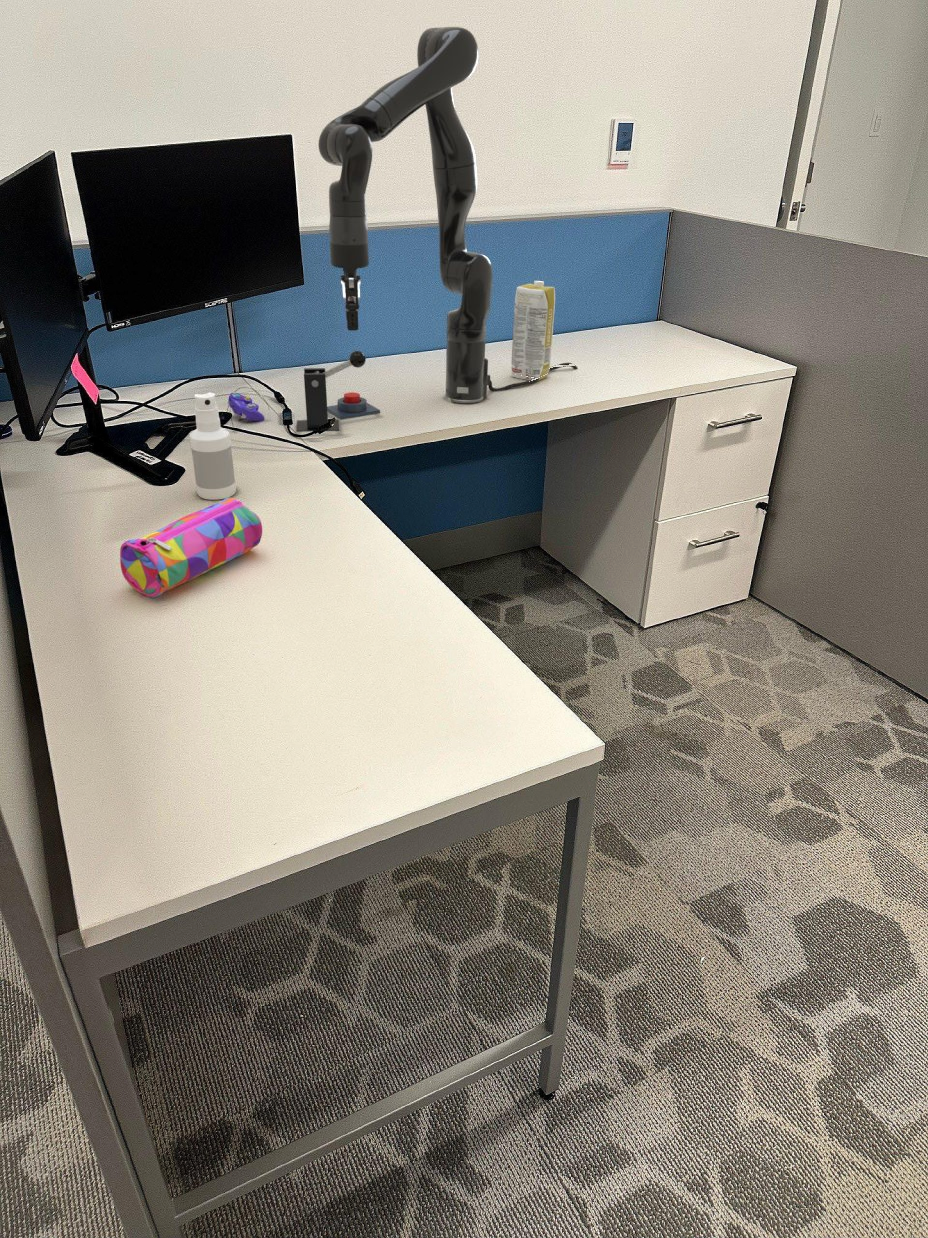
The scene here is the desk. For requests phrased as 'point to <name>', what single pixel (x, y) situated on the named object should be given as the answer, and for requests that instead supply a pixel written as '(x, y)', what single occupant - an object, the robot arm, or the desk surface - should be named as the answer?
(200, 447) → the spray bottle
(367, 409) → the button box
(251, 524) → the pencil case
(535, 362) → the juice carton
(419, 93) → the robot arm
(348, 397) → the stop button
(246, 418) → the game controller
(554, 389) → the desk surface
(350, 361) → the switch lever
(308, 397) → the switch bracket
